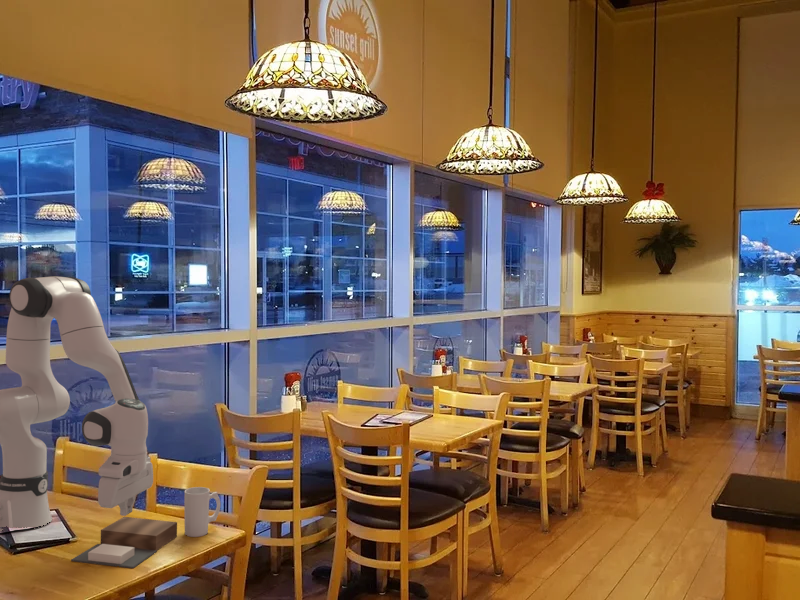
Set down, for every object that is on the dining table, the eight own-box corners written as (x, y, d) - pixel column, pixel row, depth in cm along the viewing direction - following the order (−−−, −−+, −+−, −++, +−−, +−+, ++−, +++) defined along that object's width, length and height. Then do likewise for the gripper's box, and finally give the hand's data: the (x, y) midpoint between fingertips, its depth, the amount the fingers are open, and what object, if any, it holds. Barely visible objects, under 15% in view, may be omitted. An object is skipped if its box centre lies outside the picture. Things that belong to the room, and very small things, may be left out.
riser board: (100, 544, 195) (100, 529, 195) (124, 530, 206) (124, 516, 205) (155, 551, 192) (156, 535, 191) (176, 536, 202) (177, 522, 202)
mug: (186, 538, 201) (187, 495, 200) (181, 531, 207) (181, 488, 206) (223, 533, 206) (224, 490, 205) (216, 525, 212) (217, 484, 211)
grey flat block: (102, 543, 189) (102, 551, 189) (88, 552, 183) (88, 560, 183) (134, 547, 187) (134, 555, 188) (121, 556, 182) (120, 564, 182)
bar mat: (71, 561, 184) (71, 559, 184) (97, 545, 194) (97, 543, 194) (133, 568, 180) (133, 566, 180) (156, 552, 191) (156, 550, 191)
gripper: (139, 451, 204) (137, 500, 204) (94, 470, 184) (92, 525, 184) (160, 453, 202) (157, 503, 203) (117, 473, 182) (114, 528, 183)
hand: (126, 513), depth 193 cm, fingers closed
